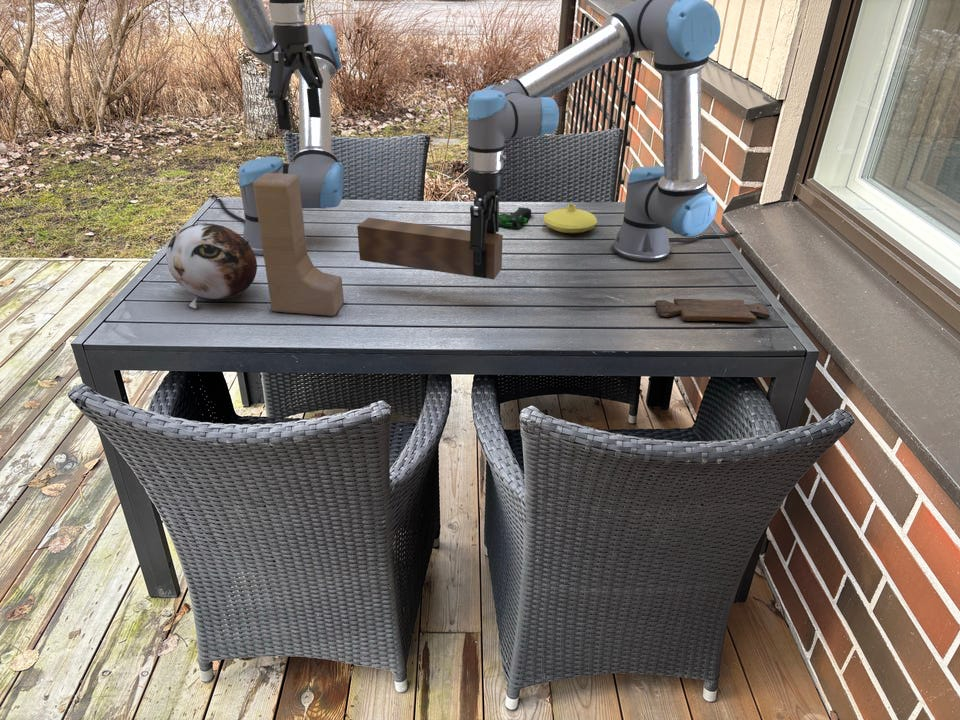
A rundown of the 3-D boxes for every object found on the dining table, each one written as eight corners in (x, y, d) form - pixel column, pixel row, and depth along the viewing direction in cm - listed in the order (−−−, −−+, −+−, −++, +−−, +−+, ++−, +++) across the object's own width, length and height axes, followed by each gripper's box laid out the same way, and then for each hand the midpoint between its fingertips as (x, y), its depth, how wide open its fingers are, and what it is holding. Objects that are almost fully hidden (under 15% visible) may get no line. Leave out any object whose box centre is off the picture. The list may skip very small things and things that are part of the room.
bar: (359, 260, 168) (357, 225, 163) (370, 251, 172) (368, 217, 168) (493, 279, 159) (494, 244, 155) (501, 269, 164) (502, 234, 159)
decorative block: (334, 317, 160) (321, 185, 145) (271, 312, 162) (251, 181, 147) (344, 302, 167) (333, 175, 151) (283, 298, 168) (265, 171, 153)
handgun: (537, 208, 218) (520, 221, 206) (536, 217, 220) (520, 231, 208) (488, 201, 224) (469, 214, 212) (488, 211, 225) (469, 224, 213)
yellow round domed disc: (559, 216, 220) (561, 193, 217) (605, 227, 212) (608, 204, 209) (532, 230, 209) (533, 207, 206) (580, 242, 201) (582, 218, 198)
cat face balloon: (130, 285, 161) (164, 203, 163) (192, 308, 177) (221, 233, 178) (195, 307, 151) (229, 220, 152) (254, 330, 166) (285, 250, 168)
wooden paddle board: (775, 325, 161) (761, 305, 169) (777, 318, 160) (763, 299, 168) (660, 321, 161) (652, 301, 169) (661, 314, 160) (653, 295, 169)
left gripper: (273, 30, 146) (286, 136, 157) (332, 19, 167) (340, 113, 177) (241, 28, 148) (256, 133, 159) (303, 18, 169) (313, 111, 179)
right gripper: (489, 183, 141) (487, 290, 153) (515, 159, 157) (511, 257, 169) (453, 179, 143) (454, 285, 155) (482, 156, 159) (481, 253, 171)
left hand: (300, 123), depth 168 cm, fingers open, 13 cm apart
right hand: (484, 270), depth 162 cm, fingers closed on bar, 6 cm apart
